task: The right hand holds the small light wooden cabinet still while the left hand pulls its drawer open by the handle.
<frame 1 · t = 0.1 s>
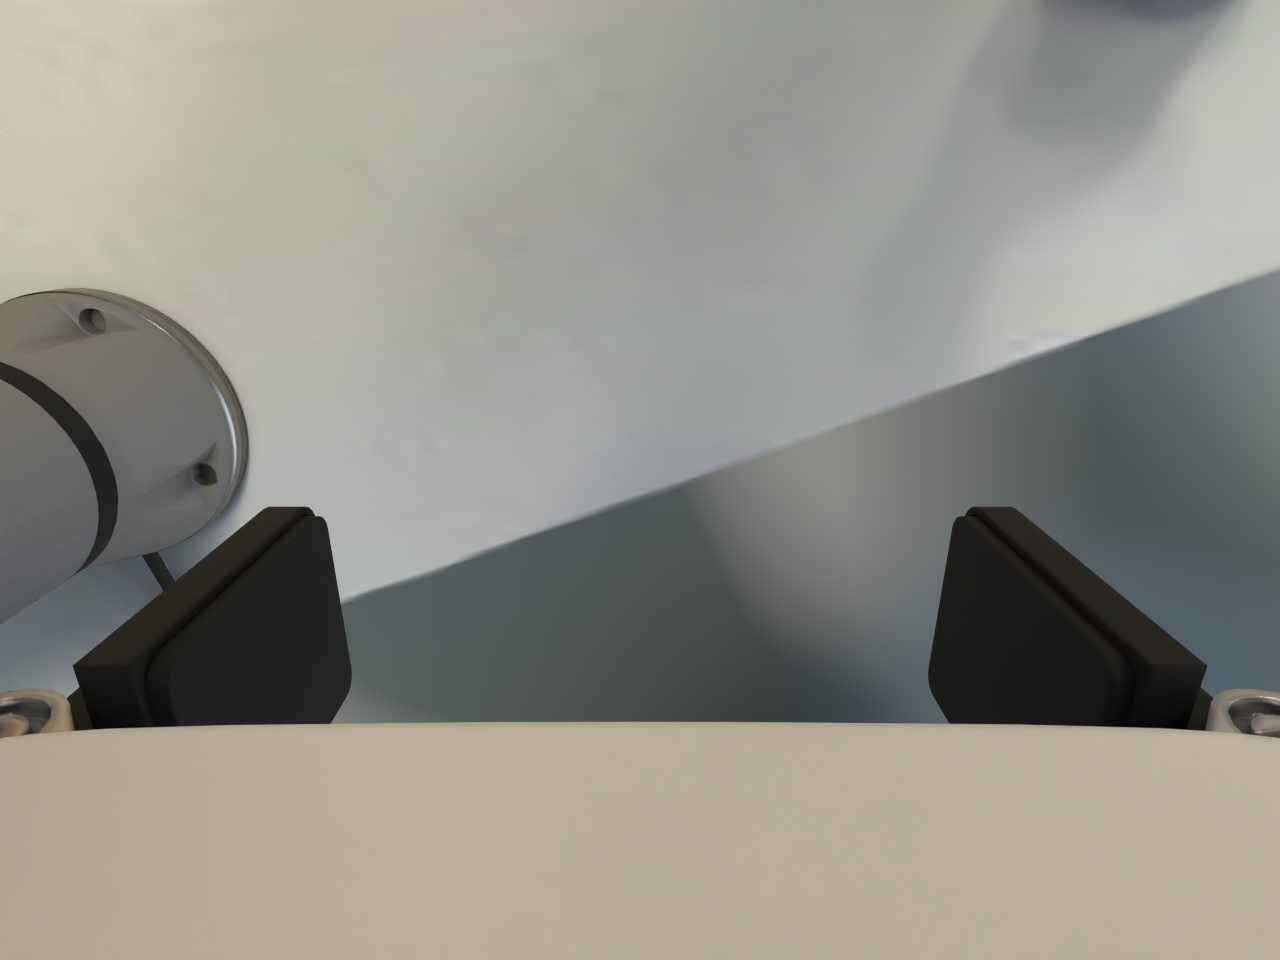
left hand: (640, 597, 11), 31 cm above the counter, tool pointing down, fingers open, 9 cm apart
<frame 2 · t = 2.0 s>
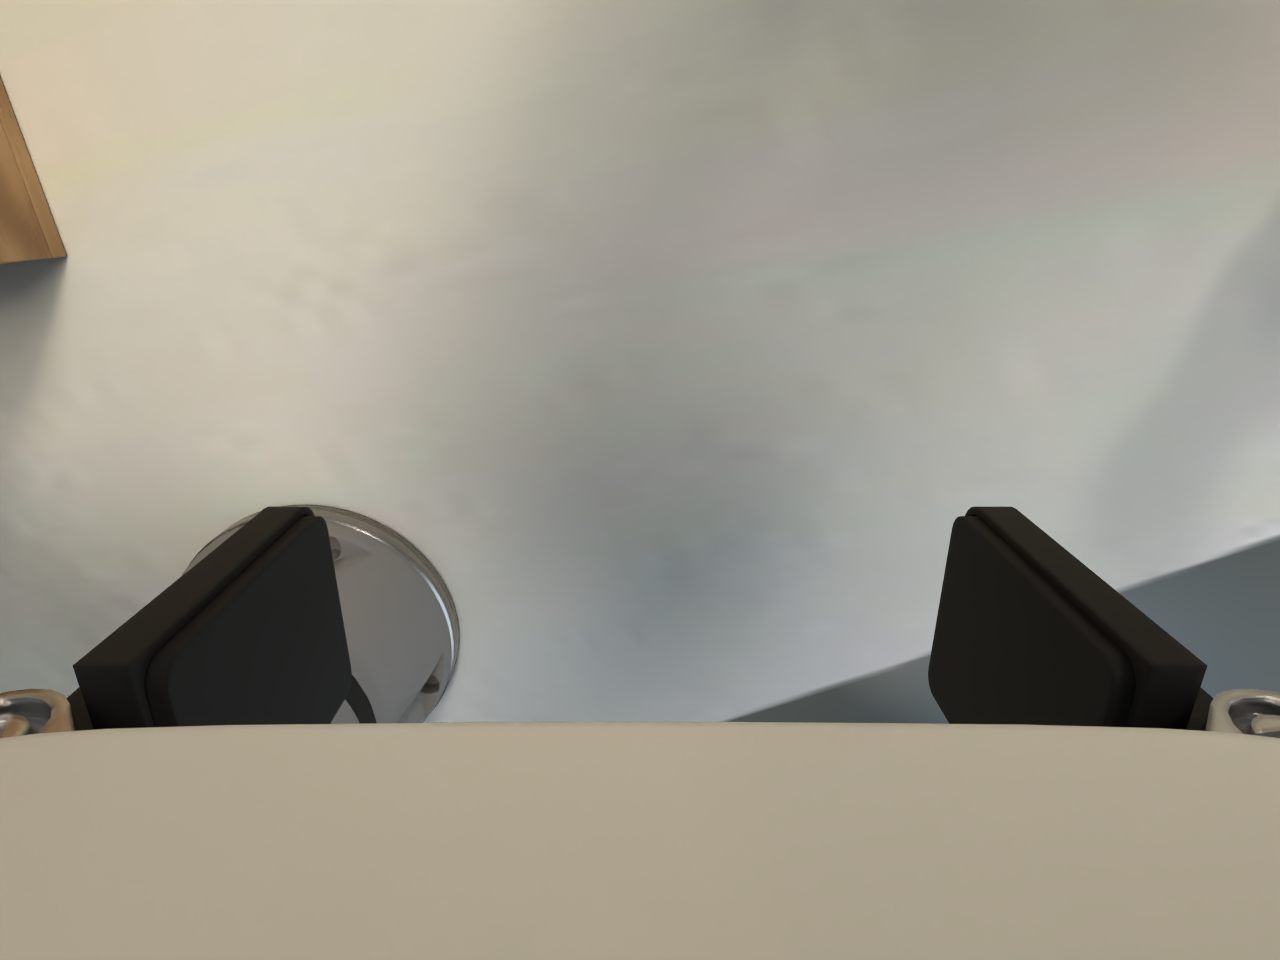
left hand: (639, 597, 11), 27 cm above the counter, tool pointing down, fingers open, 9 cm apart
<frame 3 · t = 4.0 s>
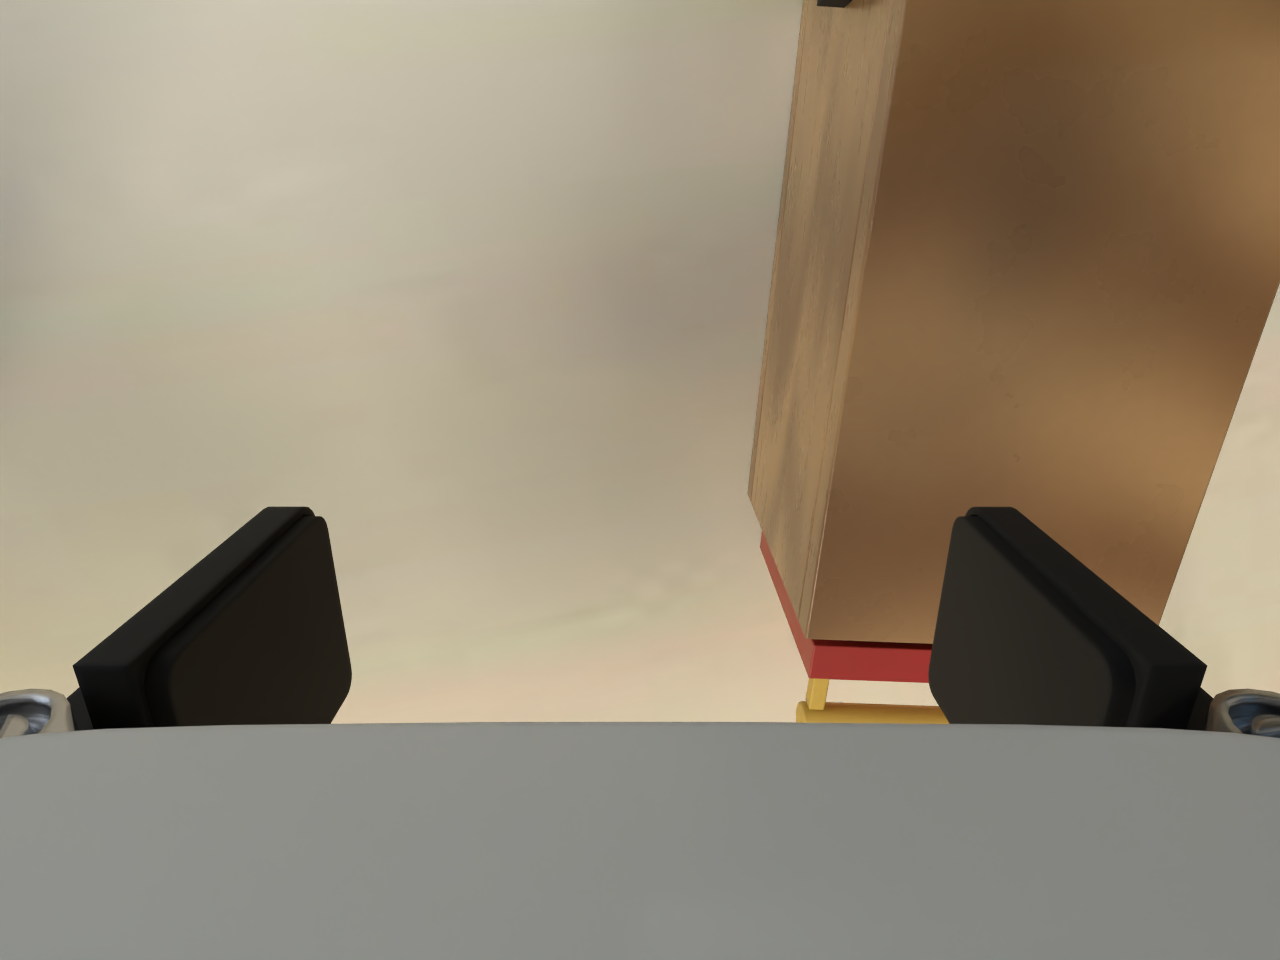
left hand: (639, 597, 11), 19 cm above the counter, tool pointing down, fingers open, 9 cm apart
drawer: (940, 410, 24), point 5 cm above the counter, slide at 0.8 cm
cabinet: (909, 236, 27), on the counter, touching right hand
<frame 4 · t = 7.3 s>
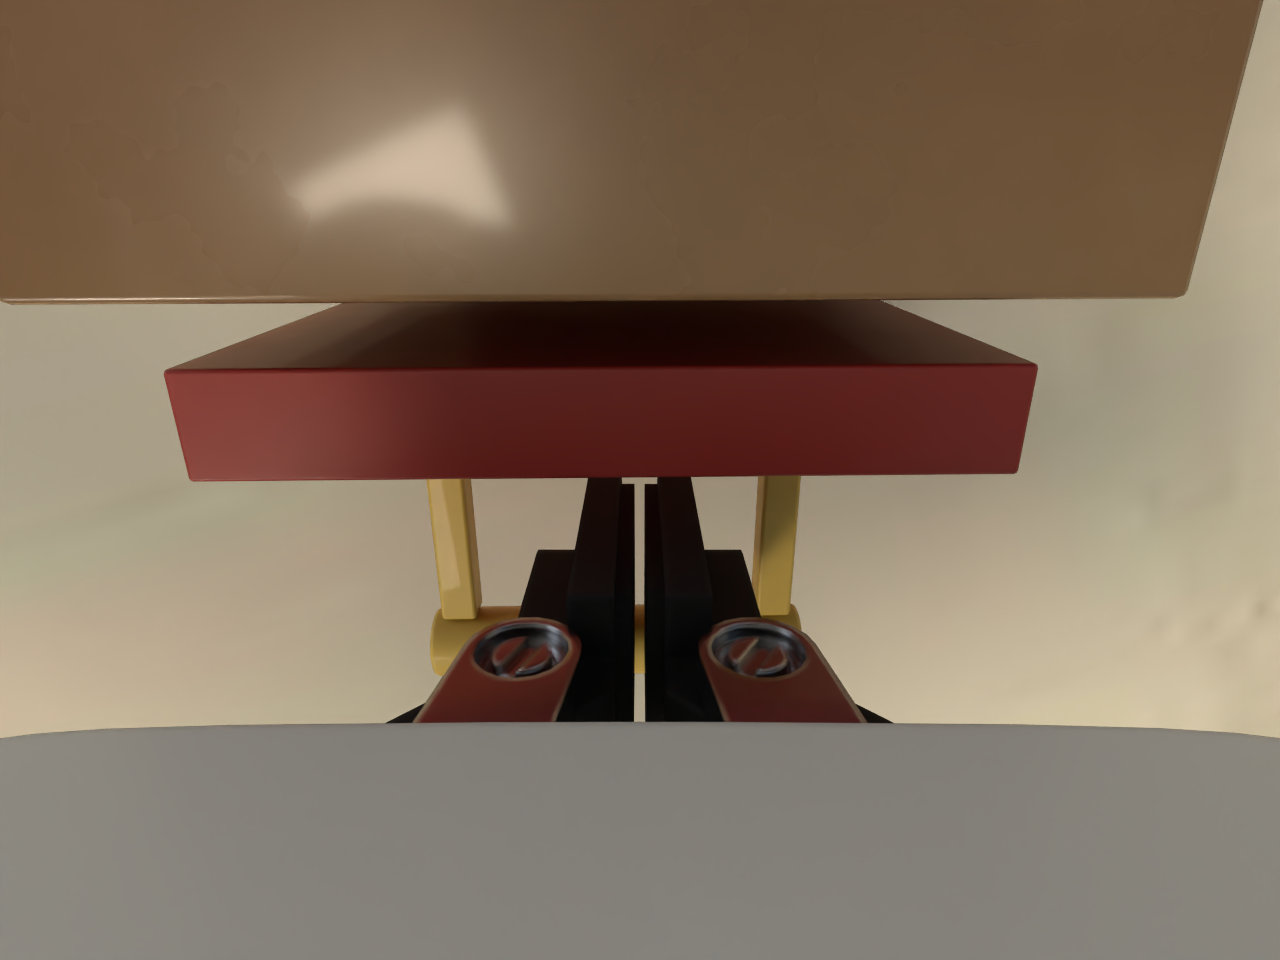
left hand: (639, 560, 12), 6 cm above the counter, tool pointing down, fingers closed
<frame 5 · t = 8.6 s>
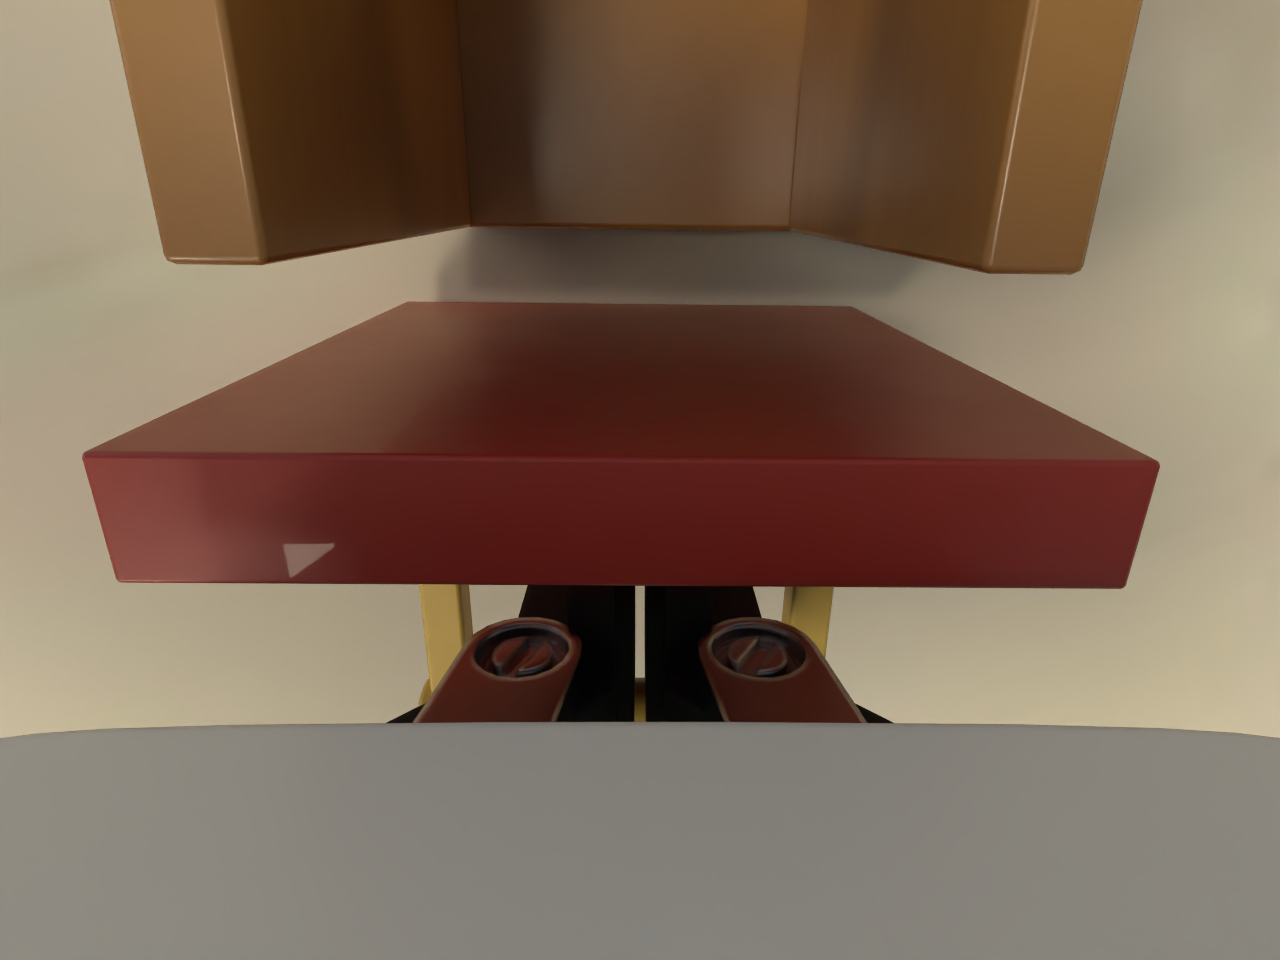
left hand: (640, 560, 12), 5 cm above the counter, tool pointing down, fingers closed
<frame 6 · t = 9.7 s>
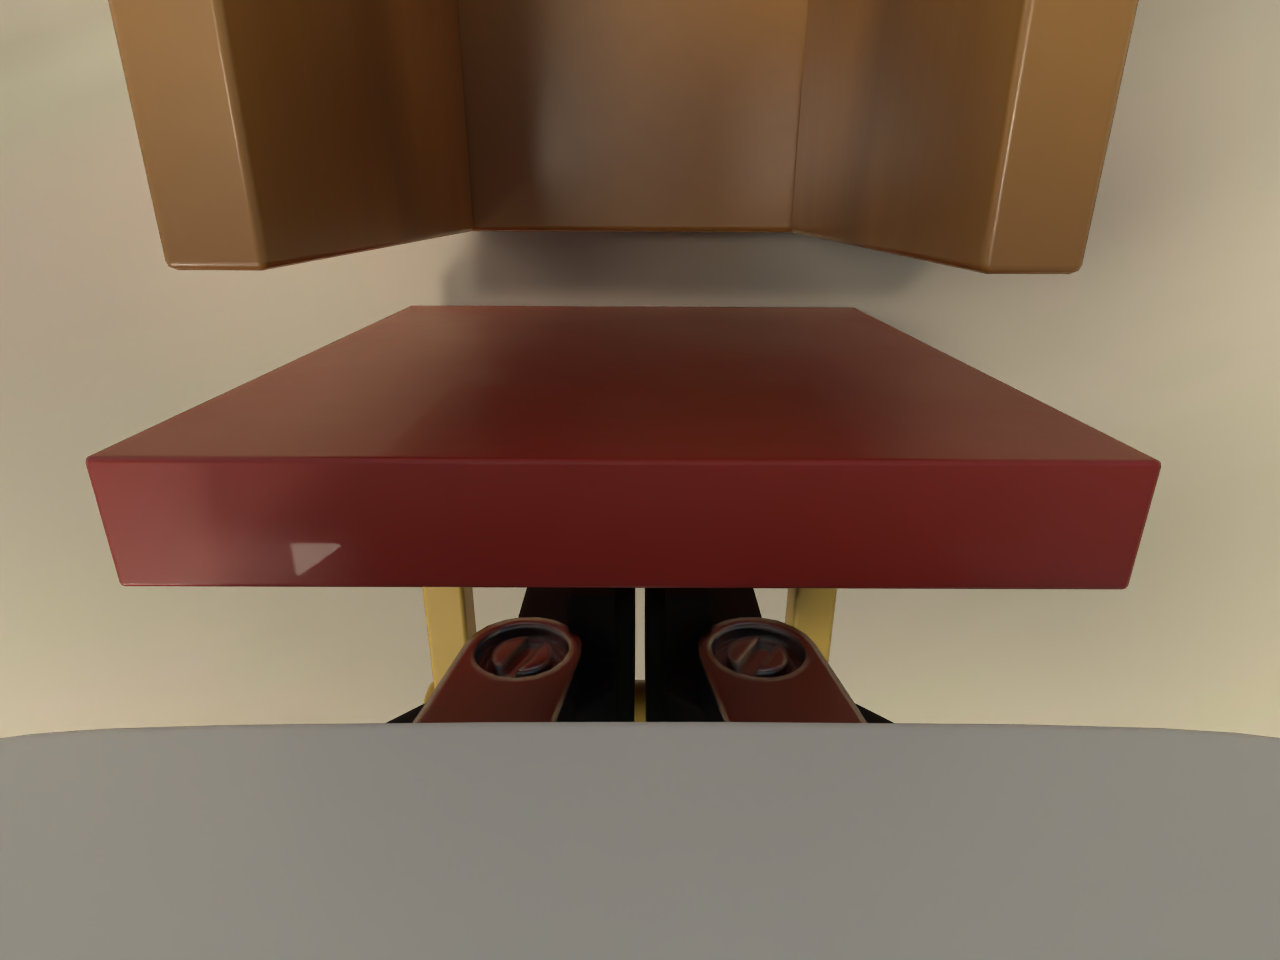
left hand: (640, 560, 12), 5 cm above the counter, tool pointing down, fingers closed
when the right hand's fingers open (6 cm above the counter, at t = 11.1 s): cabinet stays where it is, on the counter.
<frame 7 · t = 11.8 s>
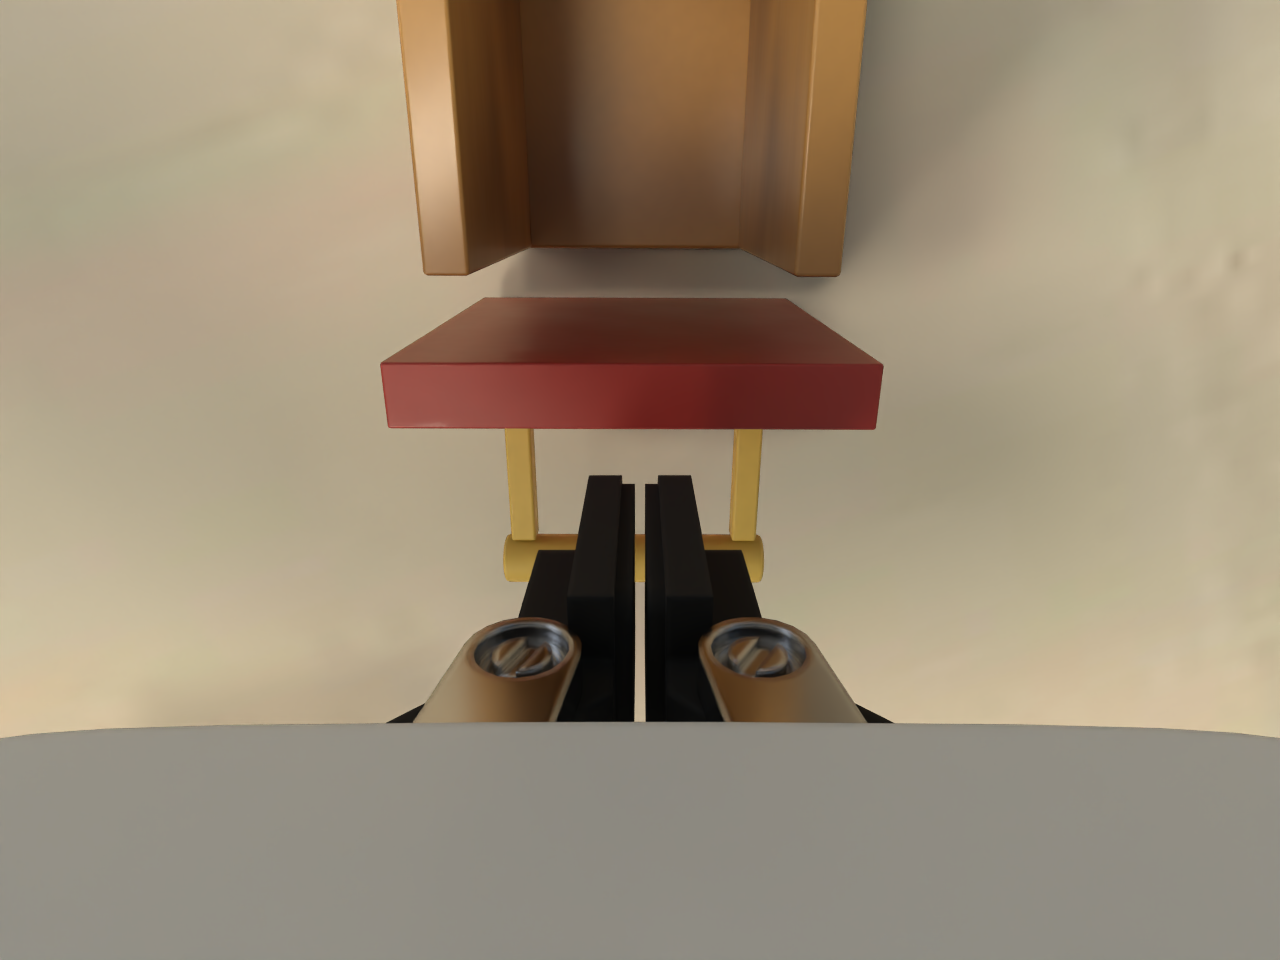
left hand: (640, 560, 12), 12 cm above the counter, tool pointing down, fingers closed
drawer: (634, 8, 15), point 5 cm above the counter, slide at 10.6 cm
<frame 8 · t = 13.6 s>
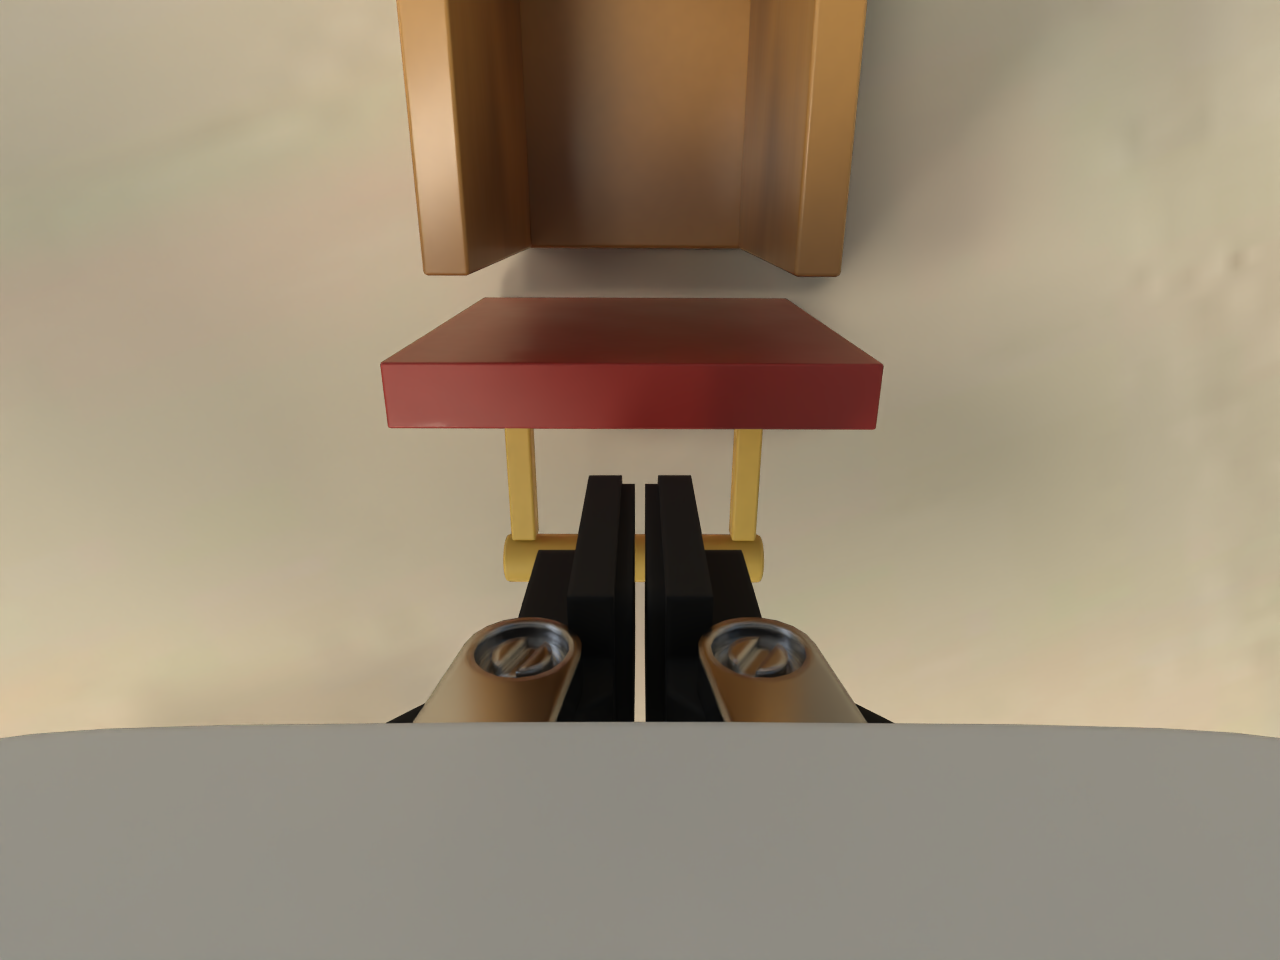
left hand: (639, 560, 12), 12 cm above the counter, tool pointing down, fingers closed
drawer: (634, 8, 15), point 5 cm above the counter, slide at 10.6 cm
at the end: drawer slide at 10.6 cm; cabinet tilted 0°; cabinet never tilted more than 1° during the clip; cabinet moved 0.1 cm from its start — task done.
